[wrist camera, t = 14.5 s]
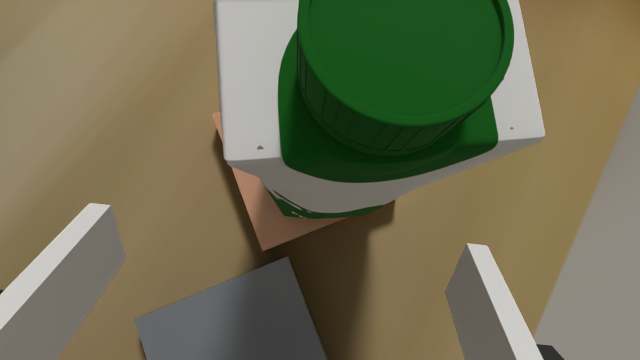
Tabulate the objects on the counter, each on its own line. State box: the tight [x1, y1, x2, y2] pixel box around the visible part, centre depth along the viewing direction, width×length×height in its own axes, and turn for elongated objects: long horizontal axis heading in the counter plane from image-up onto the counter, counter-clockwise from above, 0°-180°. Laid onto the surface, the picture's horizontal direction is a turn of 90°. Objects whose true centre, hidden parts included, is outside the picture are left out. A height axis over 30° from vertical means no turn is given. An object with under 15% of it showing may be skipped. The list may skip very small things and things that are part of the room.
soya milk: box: [213, 0, 545, 219], centre depth 17 cm, size 9×9×20 cm
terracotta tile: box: [212, 111, 348, 251], centre depth 27 cm, size 11×11×2 cm
